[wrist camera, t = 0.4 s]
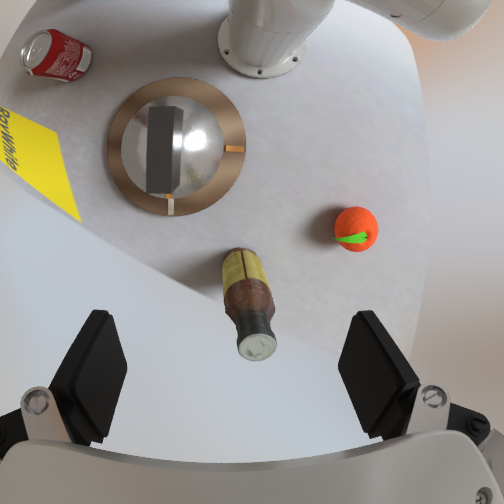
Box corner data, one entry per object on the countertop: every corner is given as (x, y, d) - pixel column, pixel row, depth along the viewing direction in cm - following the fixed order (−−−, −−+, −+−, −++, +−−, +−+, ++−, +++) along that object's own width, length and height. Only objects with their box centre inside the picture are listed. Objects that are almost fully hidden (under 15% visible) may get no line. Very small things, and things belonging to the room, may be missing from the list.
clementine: (324, 247, 45) (339, 266, 39) (319, 207, 43) (335, 220, 36) (367, 237, 45) (386, 254, 39) (364, 198, 42) (386, 210, 36)
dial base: (115, 84, 32) (110, 82, 30) (250, 82, 34) (252, 79, 32) (113, 211, 40) (108, 215, 38) (239, 215, 42) (240, 219, 40)
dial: (127, 99, 31) (105, 94, 25) (227, 98, 33) (227, 89, 26) (125, 195, 37) (104, 209, 30) (220, 198, 38) (218, 212, 32)
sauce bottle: (223, 281, 46) (222, 371, 28) (221, 246, 44) (218, 327, 26) (262, 279, 47) (282, 367, 29) (263, 244, 44) (286, 324, 26)
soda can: (101, 48, 29) (63, 28, 18) (82, 86, 31) (38, 77, 20) (71, 42, 27) (31, 24, 16) (54, 78, 29) (9, 70, 18)
